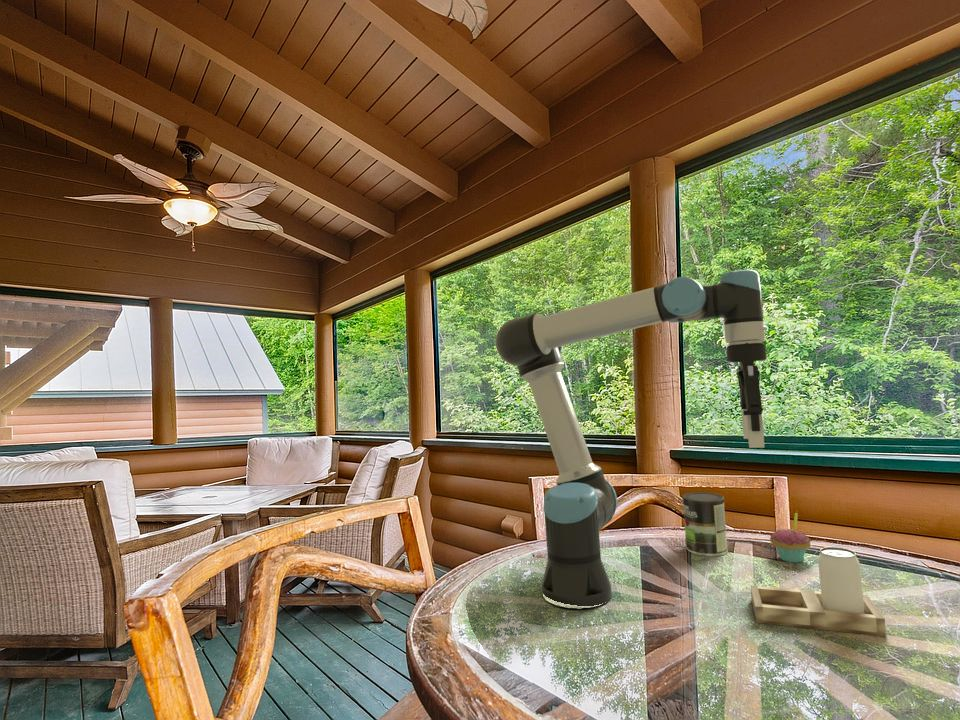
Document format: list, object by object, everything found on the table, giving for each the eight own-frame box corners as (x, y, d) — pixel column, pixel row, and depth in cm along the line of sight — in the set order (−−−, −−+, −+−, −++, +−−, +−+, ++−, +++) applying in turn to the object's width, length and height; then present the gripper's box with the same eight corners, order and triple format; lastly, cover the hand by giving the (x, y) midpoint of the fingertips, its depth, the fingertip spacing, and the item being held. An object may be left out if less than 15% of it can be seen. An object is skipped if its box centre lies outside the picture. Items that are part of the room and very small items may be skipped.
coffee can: (698, 558, 133) (694, 502, 133) (679, 545, 143) (675, 494, 143) (736, 554, 134) (732, 499, 134) (714, 542, 144) (710, 490, 144)
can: (873, 625, 93) (866, 557, 94) (833, 625, 95) (827, 558, 95) (853, 609, 100) (847, 545, 100) (816, 609, 101) (810, 546, 101)
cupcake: (812, 556, 130) (807, 507, 130) (812, 567, 122) (807, 515, 123) (772, 551, 134) (768, 504, 134) (770, 562, 127) (766, 512, 127)
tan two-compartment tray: (756, 622, 98) (755, 606, 98) (751, 600, 108) (750, 585, 108) (886, 636, 91) (884, 618, 91) (868, 611, 100) (867, 595, 100)
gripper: (772, 339, 99) (782, 451, 98) (758, 343, 122) (766, 435, 121) (729, 342, 102) (737, 451, 101) (723, 346, 125) (730, 435, 124)
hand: (753, 442), depth 111 cm, fingers open, 13 cm apart
